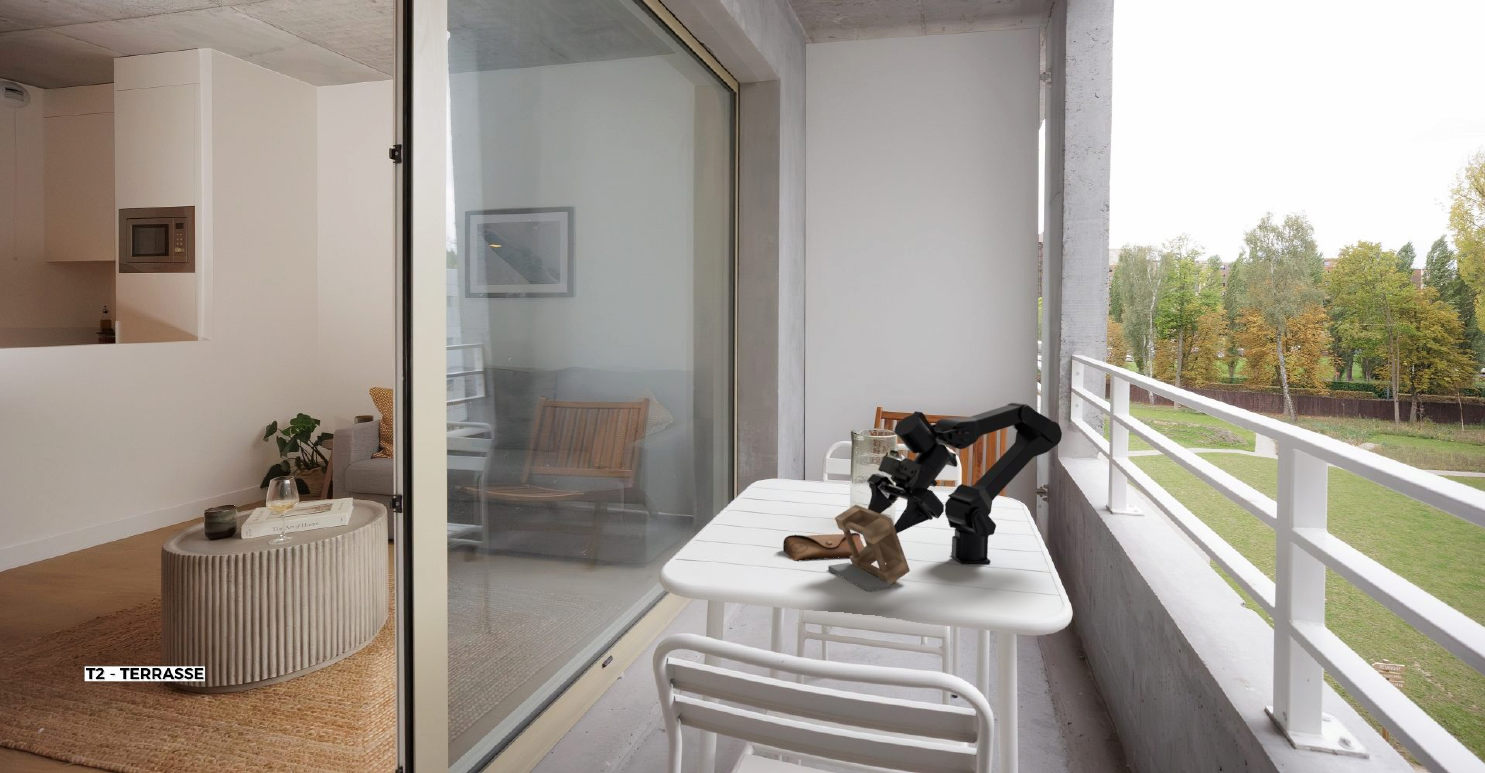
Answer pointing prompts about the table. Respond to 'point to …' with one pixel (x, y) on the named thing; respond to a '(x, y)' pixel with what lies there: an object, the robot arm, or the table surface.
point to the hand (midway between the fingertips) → (879, 526)
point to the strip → (859, 576)
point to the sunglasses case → (819, 546)
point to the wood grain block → (874, 543)
